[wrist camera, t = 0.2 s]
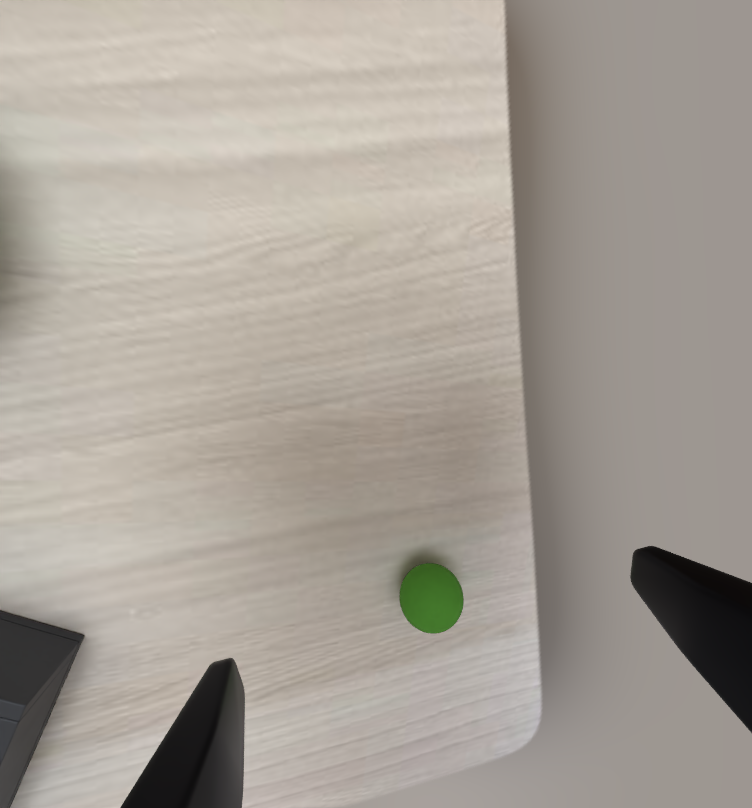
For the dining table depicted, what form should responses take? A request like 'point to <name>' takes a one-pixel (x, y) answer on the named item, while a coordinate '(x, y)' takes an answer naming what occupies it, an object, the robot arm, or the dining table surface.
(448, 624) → the pea
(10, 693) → the tray
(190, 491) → the dining table surface
